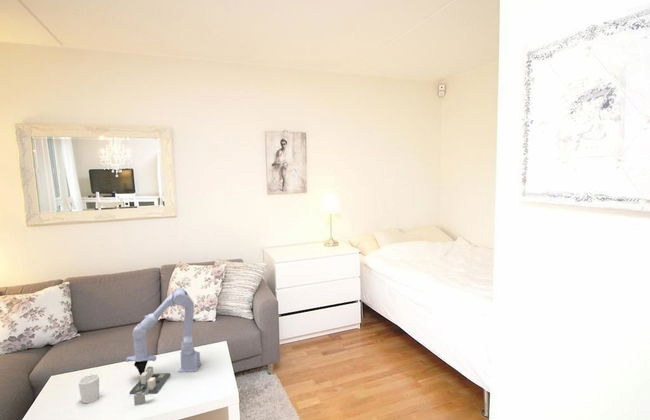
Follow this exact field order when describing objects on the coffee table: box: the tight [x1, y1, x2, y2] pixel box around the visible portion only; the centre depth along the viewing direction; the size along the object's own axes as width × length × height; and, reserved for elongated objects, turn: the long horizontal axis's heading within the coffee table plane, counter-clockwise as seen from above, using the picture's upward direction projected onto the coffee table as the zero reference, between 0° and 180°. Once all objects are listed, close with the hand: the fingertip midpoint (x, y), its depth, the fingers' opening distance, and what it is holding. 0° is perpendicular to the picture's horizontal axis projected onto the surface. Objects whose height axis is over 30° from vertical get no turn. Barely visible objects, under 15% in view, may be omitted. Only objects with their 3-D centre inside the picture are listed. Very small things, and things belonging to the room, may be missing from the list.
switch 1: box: [139, 371, 149, 384], centre depth 168 cm, size 2×3×4 cm
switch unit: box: [129, 372, 171, 395], centre depth 168 cm, size 13×15×1 cm
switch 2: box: [145, 365, 155, 378], centre depth 173 cm, size 2×3×4 cm
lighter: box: [133, 384, 151, 406], centre depth 154 cm, size 7×2×8 cm, turn 107°
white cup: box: [78, 373, 100, 404], centre depth 157 cm, size 8×8×10 cm
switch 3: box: [147, 377, 156, 390], centre depth 163 cm, size 2×3×4 cm
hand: (142, 373), depth 173 cm, fingers closed
